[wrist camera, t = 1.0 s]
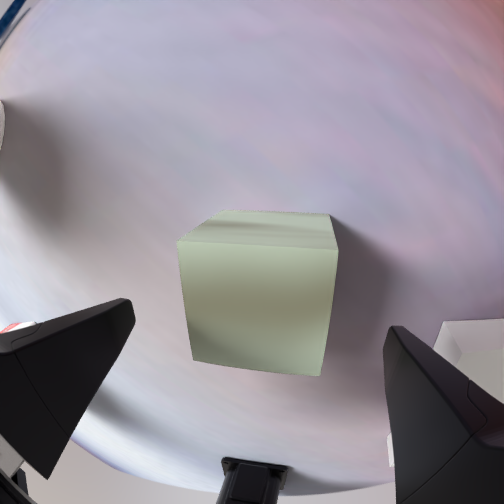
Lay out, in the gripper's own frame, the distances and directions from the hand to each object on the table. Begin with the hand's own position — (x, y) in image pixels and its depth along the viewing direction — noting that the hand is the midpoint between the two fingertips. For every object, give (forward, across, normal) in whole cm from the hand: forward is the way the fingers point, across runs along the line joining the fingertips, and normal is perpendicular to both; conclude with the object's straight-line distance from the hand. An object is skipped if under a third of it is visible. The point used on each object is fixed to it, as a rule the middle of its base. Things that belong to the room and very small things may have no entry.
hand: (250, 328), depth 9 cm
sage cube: (+6, 0, 0) cm, 6 cm away
